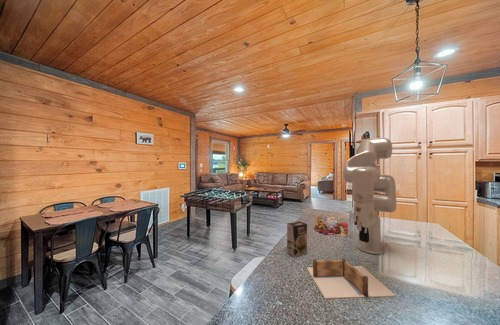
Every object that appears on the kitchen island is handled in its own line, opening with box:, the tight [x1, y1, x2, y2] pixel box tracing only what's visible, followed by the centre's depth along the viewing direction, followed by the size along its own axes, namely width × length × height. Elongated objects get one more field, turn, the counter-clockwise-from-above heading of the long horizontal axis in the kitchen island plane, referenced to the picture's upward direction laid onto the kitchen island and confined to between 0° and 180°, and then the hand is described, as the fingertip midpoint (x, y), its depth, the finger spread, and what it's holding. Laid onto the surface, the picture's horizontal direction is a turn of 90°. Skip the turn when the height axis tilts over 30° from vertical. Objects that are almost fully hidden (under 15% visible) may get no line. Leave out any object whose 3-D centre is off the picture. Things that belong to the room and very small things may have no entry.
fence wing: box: [344, 261, 368, 297], centre depth 74 cm, size 12×1×7 cm, turn 7°
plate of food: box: [313, 215, 351, 237], centre depth 138 cm, size 25×24×9 cm
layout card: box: [306, 265, 397, 300], centre depth 78 cm, size 26×20×1 cm
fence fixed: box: [312, 258, 347, 277], centre depth 81 cm, size 14×1×7 cm, turn 92°
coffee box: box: [286, 221, 308, 258], centre depth 103 cm, size 9×6×16 cm
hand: (364, 241), depth 79 cm, fingers closed
